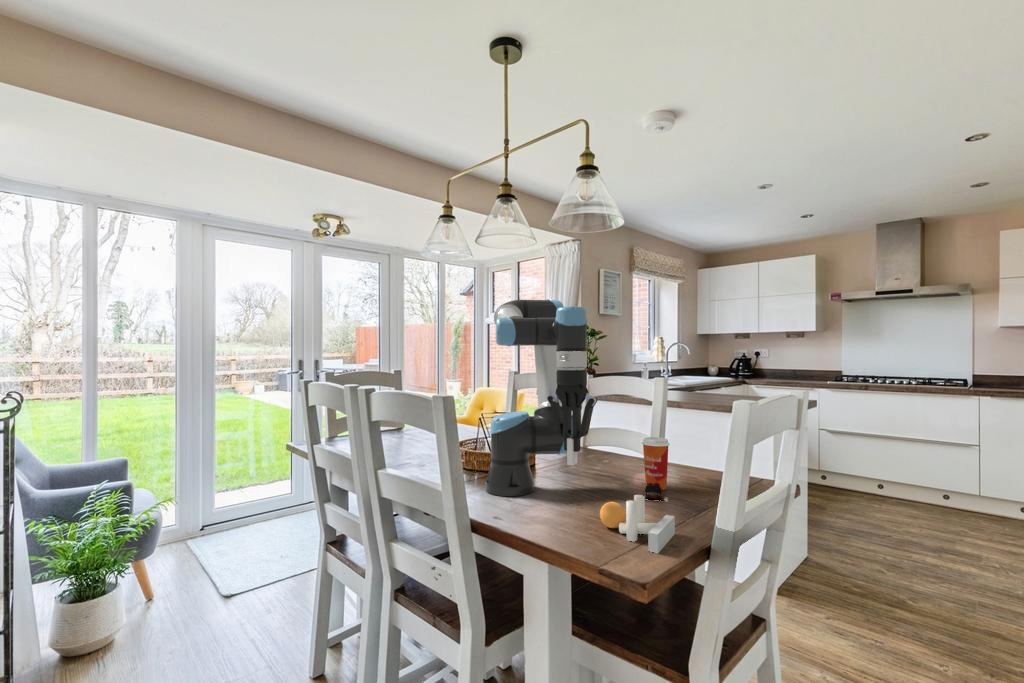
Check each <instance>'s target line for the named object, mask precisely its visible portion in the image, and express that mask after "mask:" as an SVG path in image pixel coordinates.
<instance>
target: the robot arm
mask: <svg viewBox="0 0 1024 683" xmlns="http://www.w3.org/2000/svg"><path fill="white" fill-rule="evenodd" d="M493 314H494V315H493V322H494V325H495V343H496V344H497V345H498V346H503V347H512V346H516V347H517V346H518V347H520V346H522V347H525V346H528V347H529V346H533V348H534V350H533V351H534V364H535V365H534V366H535V379H536V391H537V392H536V393H537V394H536V395H537V407H536V409H534V410H533V416H530V414H529V412H528V411H523V410H522V411H512V412H505V413H500V414H498V415H495V416H493V418H492V419H491V422H490V432H489V433H490V466H489V469H488V473H487V476H486V479H485V483H484V484H485V485H484V487H485V488H484V489H485V492H487V493H488V494H491V495H494V496H501V497H518V496H525V495H529V494H532V493H533V492H534V491H535V480H534V476H533V473H532V471H531V466H530V464H529V459H530V458H529V457H530V455H531V456H532V455H535V456H536V455H537V456H538V455H557V456H561V455H566V465H567V466H572V467H573V466H576V465H577V464H578V452H579V451H581V440H582V437H586V436H588V434H589V431H590V430H589V429H590V425H591V420H592V415H593V411H594V407H595V406H596V404H597V403H598V398H597V397H593V396H592V395H591V394H589V390H588V388H587V385H588V370H587V369H585V368H587V367H588V356H587V354H588V352H587V350H588V348H587V346H588V344H587V336H588V335H587V323H588V319H587V310H586V308H585V307H584V306H572V305H571V306H564V303H562V302H561V300H556V299H549V298H548V299H514V300H510V301H507V302H505V303H502V304H501V305H500V306H498V307H497V309H496V310H495V311H494V313H493ZM584 402H585V406H584V409H583V403H584ZM582 409H583V415H582Z"/></svg>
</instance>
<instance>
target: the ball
mask: <svg viewBox="0 0 1024 683" xmlns="http://www.w3.org/2000/svg"><path fill="white" fill-rule="evenodd" d="M599 517H600V520H601V523H603V525H604V526H605V527H607V528H610V529H617V528H618V529H619V523H625V520H626V510H625V509H624V507H623V506H622V505H621V504H620V503H618V502H616V501H608V502H606V503H604V504H603V505H602V506H601V508H600V510H599Z"/></svg>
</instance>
